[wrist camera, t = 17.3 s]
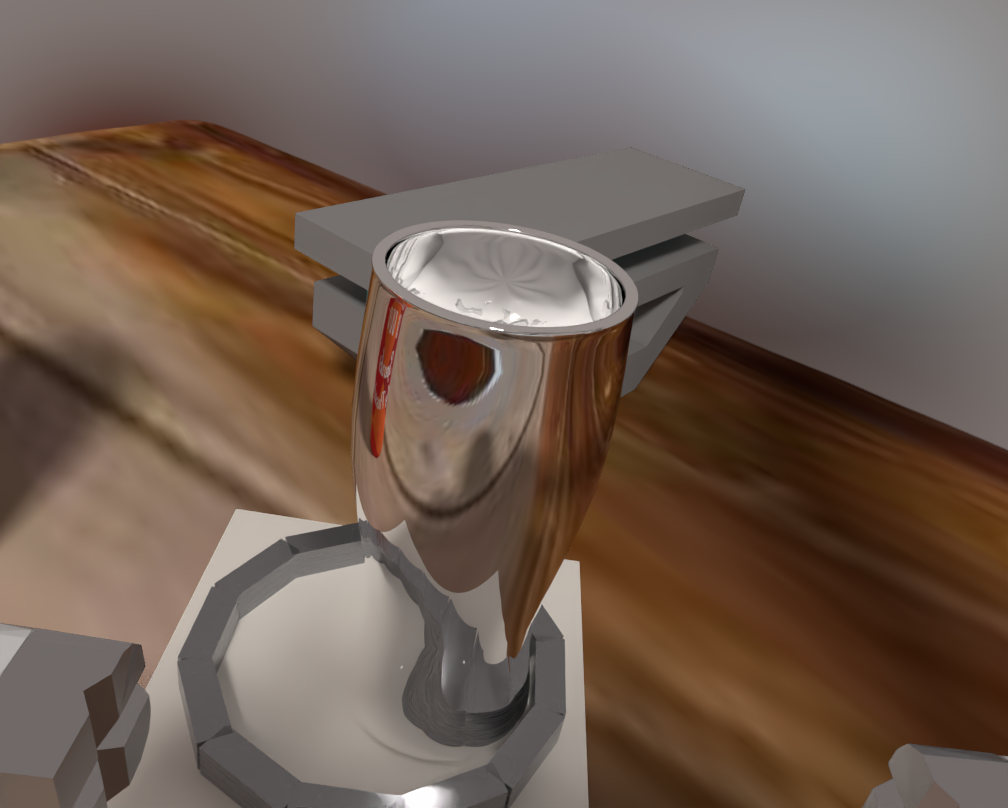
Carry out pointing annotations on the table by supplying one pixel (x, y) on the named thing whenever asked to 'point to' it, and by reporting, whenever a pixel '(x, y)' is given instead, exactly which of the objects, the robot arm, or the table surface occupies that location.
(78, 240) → the table surface
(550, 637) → the steel ring collar
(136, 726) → the robot arm
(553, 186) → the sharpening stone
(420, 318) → the steel tumbler
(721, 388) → the table surface
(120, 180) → the table surface
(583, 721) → the pale board
